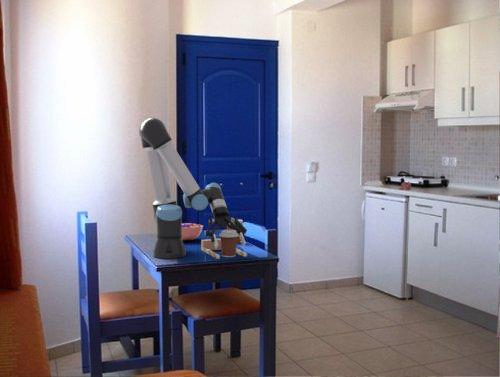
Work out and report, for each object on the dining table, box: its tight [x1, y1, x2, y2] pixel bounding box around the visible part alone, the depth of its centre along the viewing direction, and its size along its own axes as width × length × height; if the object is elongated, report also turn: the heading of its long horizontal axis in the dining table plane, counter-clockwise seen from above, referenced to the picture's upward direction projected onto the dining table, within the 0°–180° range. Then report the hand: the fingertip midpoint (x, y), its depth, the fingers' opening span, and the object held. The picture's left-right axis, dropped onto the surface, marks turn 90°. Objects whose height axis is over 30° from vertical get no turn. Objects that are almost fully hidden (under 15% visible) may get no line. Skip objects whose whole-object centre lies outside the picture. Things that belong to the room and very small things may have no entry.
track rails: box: [202, 247, 248, 260], centre depth 282 cm, size 20×15×2 cm
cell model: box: [182, 222, 204, 242], centre depth 317 cm, size 17×20×11 cm
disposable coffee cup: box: [226, 218, 244, 245], centre depth 311 cm, size 10×10×12 cm
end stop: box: [200, 238, 222, 252], centre depth 293 cm, size 3×15×5 cm, turn 113°
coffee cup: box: [218, 229, 239, 258], centre depth 276 cm, size 9×9×12 cm
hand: (230, 246), depth 274 cm, fingers open, 13 cm apart
